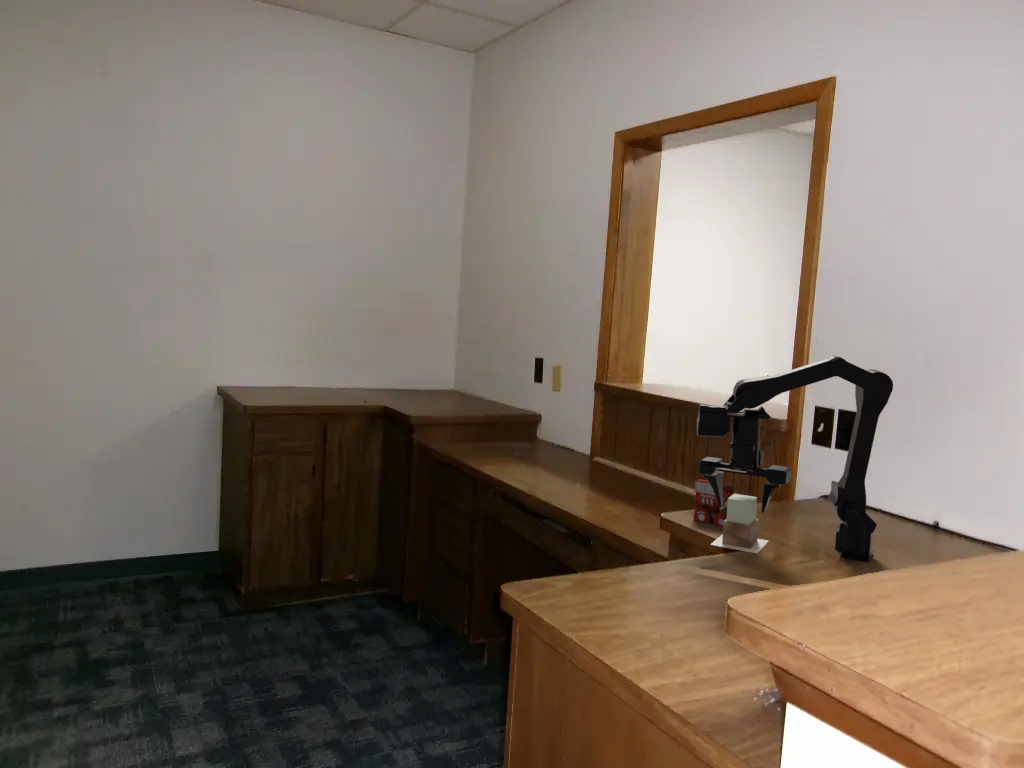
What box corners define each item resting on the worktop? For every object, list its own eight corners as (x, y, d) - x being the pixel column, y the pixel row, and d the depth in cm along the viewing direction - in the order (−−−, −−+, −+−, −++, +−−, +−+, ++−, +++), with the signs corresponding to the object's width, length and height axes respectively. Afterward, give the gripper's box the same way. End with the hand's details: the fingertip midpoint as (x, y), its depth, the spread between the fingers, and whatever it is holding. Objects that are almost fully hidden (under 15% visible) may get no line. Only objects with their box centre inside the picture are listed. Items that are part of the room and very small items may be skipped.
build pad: (768, 545, 175) (769, 540, 175) (757, 557, 167) (757, 553, 167) (723, 537, 180) (723, 532, 180) (710, 549, 172) (710, 544, 172)
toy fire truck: (736, 534, 183) (738, 489, 182) (686, 523, 191) (688, 480, 190) (748, 527, 189) (750, 484, 187) (699, 517, 196) (701, 475, 195)
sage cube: (749, 525, 169) (751, 502, 169) (726, 521, 172) (727, 498, 171) (755, 519, 174) (757, 497, 173) (733, 515, 176) (734, 493, 176)
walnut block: (757, 541, 175) (758, 519, 174) (750, 548, 169) (751, 526, 169) (730, 536, 178) (731, 514, 177) (722, 543, 173) (723, 521, 172)
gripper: (798, 437, 173) (794, 507, 175) (713, 428, 182) (710, 494, 184) (787, 445, 163) (783, 519, 165) (698, 435, 173) (695, 505, 175)
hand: (741, 509), depth 173 cm, fingers open, 9 cm apart
